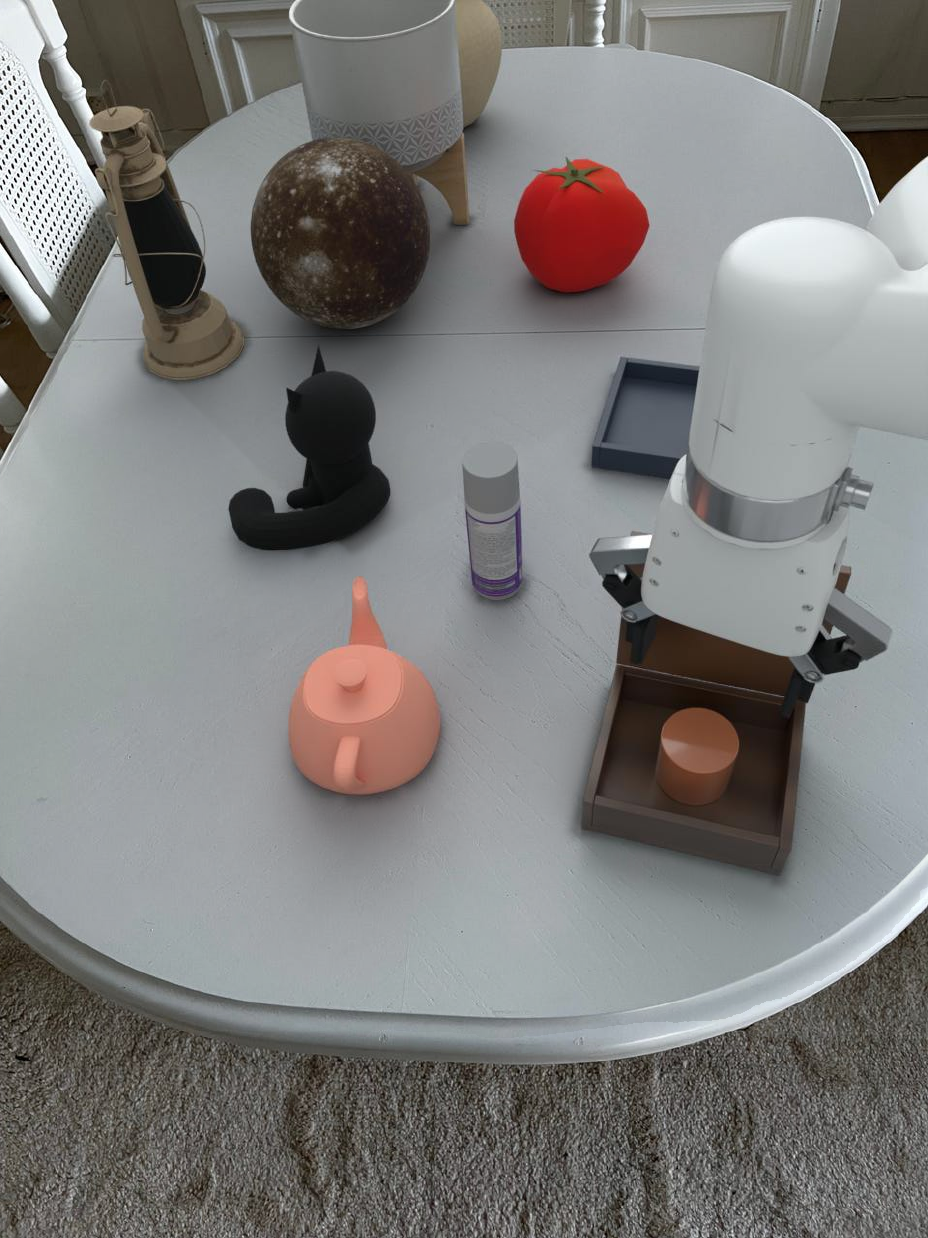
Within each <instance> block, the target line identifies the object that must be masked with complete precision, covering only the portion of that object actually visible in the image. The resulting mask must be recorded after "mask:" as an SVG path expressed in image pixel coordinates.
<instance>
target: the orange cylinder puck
mask: <svg viewBox="0 0 928 1238" xmlns="http://www.w3.org/2000/svg"><path fill="white" fill-rule="evenodd" d="M738 750H739V738H738V735H737V732H736V730H735V728H734V727H733V725H732V724H731V723H730V722H729V721H728V720H727V719H726V718H725V717H724V716H722V715H720V714H719V713H717V712H715V711H712V710H709V709H705V708H687V709H684V710H681V711H678V712H676V713H675V714H673V715H672V716H671V717H669V719H668V720H667V721H666V722H665V724H664V726H663V728H662V731H661V737H660V743H659V748H658V754H657V760H656V766H655V774H656V778H657V781H658V783H659V785H660V787H661V788H662V790H663V791H664V792H665V793H666V794H667V795H668V796H669V797H671V798H672V799H674V800H676V801H678V802H680V803H683V804H686V805H693V806H699V805H706V804H709V803H712V802H714V801H716V800H717V799H719V798H720V797H721V796H722V795H723V794H724V792H725V791H726V789H727V787H728V784H729V781H730V778H731V774H732V771H733V767H734V764H735V761H736V757H737V754H738Z"/></svg>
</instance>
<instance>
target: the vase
mask: <svg viewBox="0 0 928 1238" xmlns="http://www.w3.org/2000/svg"><path fill="white" fill-rule="evenodd" d="M455 6H456V21H457V36H458V51H459V66H460V81H461V96H462V111H463V129H464V128H467V127H468V126H470V125H472V124H473V123H474V122H475V121H477V119H478V118H479V117H480V116H481V115H482V113H483V112H484V111H485V108H486V107H487V104H488V103H489V100H490V98H491V95H492V92H493V90H494V87H495V85H496V81H497V79H498V75H499V71H500V66H501V62H502V61H501V60H502V54H503V53H502V51H503V37H502V32H501V27H500V24H499V21H498V19H497V17H496V15H495V14H494V12H493V11H492V9H491V8H490V7H489V6H488V5H487V4H486V3H485V2H483V1H482V0H455Z"/></svg>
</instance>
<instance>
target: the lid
mask: <svg viewBox="0 0 928 1238" xmlns="http://www.w3.org/2000/svg"><path fill="white" fill-rule="evenodd" d="M652 534H653V533H648V532H642V531H635V530H631V531H630V535H629V536H637V535H652ZM628 566H629V567H630V568H631V570H632V571H633V572H634V573H635V574H636V575H637V576H638V577H639V578H642V577H643V572H644V567H645V564H633V565H628ZM851 576H852V567H851V566H850V565H843V564H841V567H840V571H839V574H838V578H837V582H836V585H835V588H836V589H837V590H839V591H840V592H841V593H843V594H844V595H846V594H845V593H846V590H847V587H848V584H849V582H850V579H851ZM622 609H623V608H622V607H621V610H622ZM822 625H823V626H824V628H825V629H826V631H827V632H828V633H829V635H830V636H831V634H832V631H833V629H834V626H833V625H832V624H830V623H829V622H827V621H826V620H825V619H823V622H822ZM626 627H627V621H626V620H625V619H623V617H622V616H621V615H620V623H619V632H618V641H617V650H616V659H615V663H616V664H615V665H617V664H618V665H623V666H629V667H634V668H639V669H644V670H649V671H654V672H659V673H665V674H670V675H675V676H680V677H685V678H690V679H695V680H700V681H705V682H710V683H715V684H721V685H726V686H731V687H736V688H741V689H746V690H751V691H756V692H761V693H766V694H771V695H776V696H782V697H784V696H785V693H786V690H787V687H788V684H789V681H790V678H791V675H792V673H793V670H794V667H795V666H794V665H793V664H792V662H791V661H790V660H789V658H788V657H787V656H781V655H776V654H772V653H769V652H765V651H762V650H759V649H756V648H753V647H749V646H746V645H743V644H740V643H737V642H734V641H731V640H728V639H724V638H721V637H718V636H715V635H712V634H709V633H706V632H703V631H700V630H697V629H694V628H691V627H688V626H686V625H683V624H680V623H677V622H674V621H671V620H669V619H666V618H664V617H661V616H659V619H658V626H657V632H656V635H655V637H654V639H653V641H652V643H651V645H650V647H649V650H648V652H647V654H646V656H645V658H644V660H643V662H642V664H640V663H639V664H638V665H636V664H633V663H630V657H631V648H632V643H629V642H626V641H625V637H626Z"/></svg>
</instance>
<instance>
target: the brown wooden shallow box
mask: <svg viewBox="0 0 928 1238" xmlns="http://www.w3.org/2000/svg"><path fill="white" fill-rule="evenodd" d="M783 699H784V697H783V696H778V695H773V694H768V693H763V692H758V691H753V690H748V689H743V688H738V687H732V686H727V685H722V684H717V683H712V682H707V681H702V680H697V679H692V678H687V677H681V676H676V675H671V674H666V673H661V672H656V671H651V670H646V669H641V668H636V667H631V666H625V665H620V664H615V668H614V672H613V676H612V680H611V685H610V689H609V693H608V696H607V701H606V704H605V709H604V713H603V717H602V721H601V724H600V728H599V733H598V737H597V741H596V746H595V748H594V753H593V757H592V761H591V765H590V769H589V773H588V778H587V782H586V785H585V790H584V793H583V798H582V804H581V821H580V829H581V830H582V829H583V830H587V831H591V832H595V833H600V834H604V835H608V836H612V837H616V838H621V839H625V840H627V841H632V842H636V843H641V844H645V845H648V846H649V845H650V846H653V847H654V846H655V847H659V848H663V849H667V850H671V851H675V852H679V853H683V854H687V855H692V856H696V857H700V858H705V859H709V860H713V861H717V862H720V863H721V862H722V863H726V864H729V865H733V866H738V867H742V868H746V869H751V870H756V871H760V872H764V873H767V874H772V875H775V876H781V874H782V872H783V870H784V867H785V865H786V863H787V861H788V859H789V856H790V854H791V852H792V848H793V840H794V839H793V837H794V829H795V818H796V810H797V809H796V808H797V799H798V787H799V779H800V769H801V757H802V750H803V738H804V729H805V728H804V727H805V718H806V707H807V703H805V702H802V701H799V700H796V702H795V705H794V707H793V710H792V713H791V716H790V718H788V717H785V716H782V713H781V712H779V710H780V708H781V705H782V702H783ZM687 708H705V709H709V710H712V711H715V712H717V713H719V714H720V715H722V716H724V717H725V718H726V719H727V720H728V721H729V722H730V723H731V724H732V725H733V727H734V728H735V730H736V732H737V735H738V738H739V750H738V754H737V757H736V761H735V764H734V767H733V771H732V774H731V778H730V781H729V784H728V787H727V789H726V791H725V792H724V794H723V795H722V796H721V797H720V798H719V799H717V800H716V801H714V802H712V803H709V804H706V805H699V806H693V805H686V804H683V803H680V802H678V801H676V800H674V799H672V798H671V797H669V796H668V795H667V794H666V793H665V792H664V791H663V790H662V788H661V787H660V785H659V783H658V781H657V778H656V774H655V766H656V760H657V754H658V748H659V743H660V737H661V731H662V728H663V726H664V724H665V722H666V721H667V720H668V719H669V717H671V716H672V715H673V714H675V713H676V712H678V711H681V710H684V709H687Z"/></svg>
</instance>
